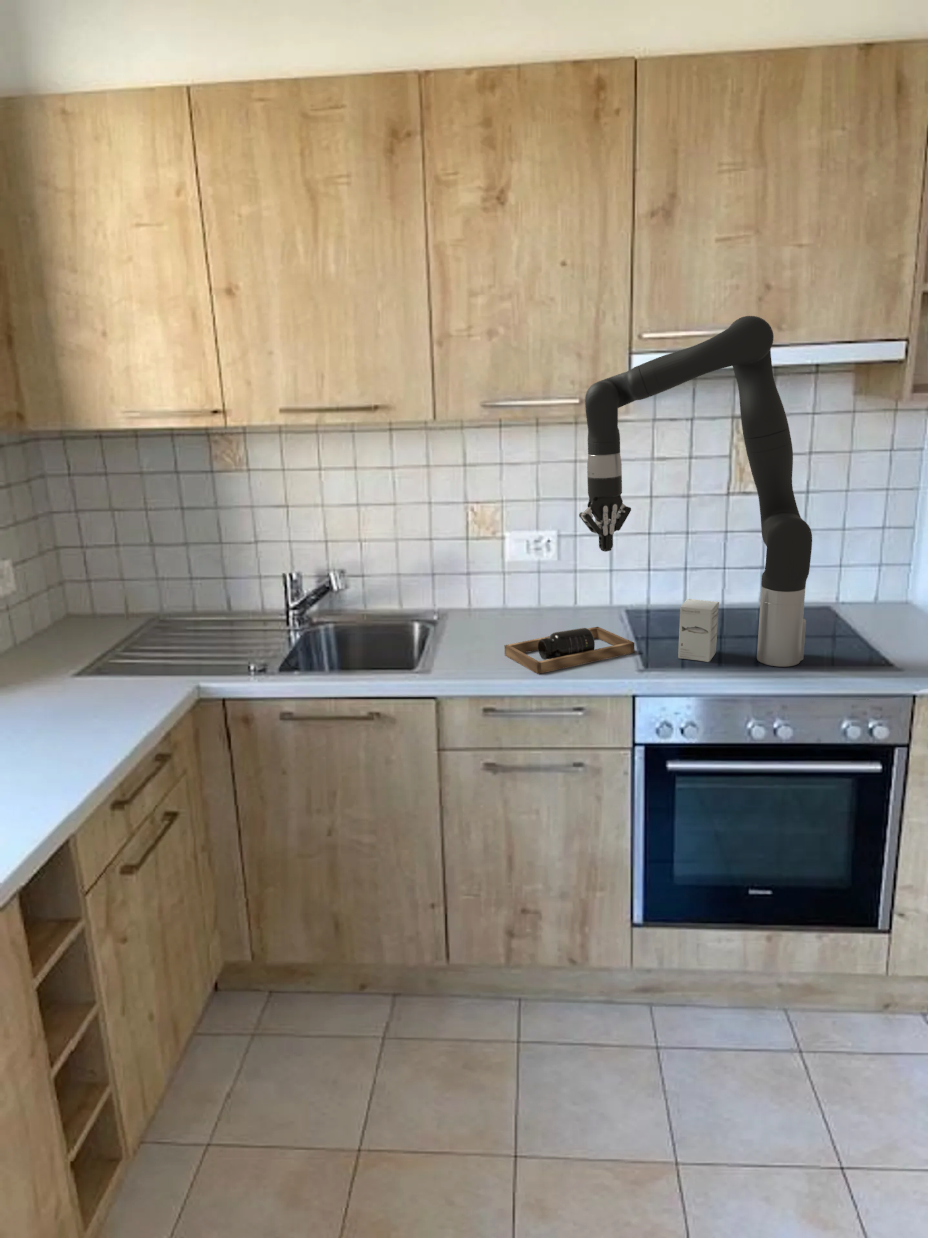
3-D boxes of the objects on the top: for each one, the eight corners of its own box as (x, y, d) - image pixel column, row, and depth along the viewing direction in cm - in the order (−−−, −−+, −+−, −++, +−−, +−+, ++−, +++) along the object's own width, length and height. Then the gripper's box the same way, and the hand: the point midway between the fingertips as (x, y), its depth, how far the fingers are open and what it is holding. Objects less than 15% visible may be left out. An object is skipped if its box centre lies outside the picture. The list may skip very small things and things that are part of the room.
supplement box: (677, 659, 206) (678, 606, 203) (685, 649, 213) (687, 597, 209) (709, 663, 203) (711, 609, 199) (717, 653, 209) (719, 600, 206)
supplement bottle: (584, 656, 213) (538, 664, 209) (580, 628, 213) (533, 635, 209) (597, 656, 207) (550, 663, 203) (593, 626, 207) (545, 633, 203)
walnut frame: (597, 636, 224) (597, 626, 224) (634, 652, 212) (634, 642, 211) (504, 655, 213) (504, 645, 213) (537, 674, 200) (537, 663, 200)
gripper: (588, 479, 193) (590, 558, 198) (639, 471, 198) (640, 548, 203) (569, 475, 199) (572, 552, 204) (619, 469, 205) (620, 543, 210)
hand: (606, 550), depth 204 cm, fingers closed
